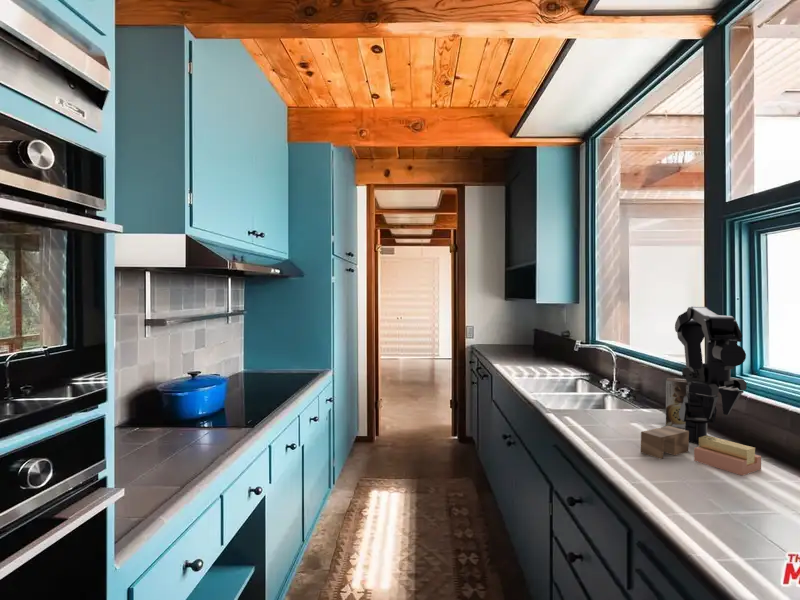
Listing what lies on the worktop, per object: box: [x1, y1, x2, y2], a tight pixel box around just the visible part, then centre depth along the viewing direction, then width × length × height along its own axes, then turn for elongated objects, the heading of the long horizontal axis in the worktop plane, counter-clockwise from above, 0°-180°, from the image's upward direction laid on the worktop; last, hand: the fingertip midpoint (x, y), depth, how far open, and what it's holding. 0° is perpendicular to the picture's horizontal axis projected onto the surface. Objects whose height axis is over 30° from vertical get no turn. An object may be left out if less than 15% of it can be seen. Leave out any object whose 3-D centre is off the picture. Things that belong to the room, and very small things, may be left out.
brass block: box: [698, 434, 756, 465], centre depth 128 cm, size 12×4×4 cm, turn 29°
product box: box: [664, 377, 688, 429], centre depth 165 cm, size 9×6×16 cm
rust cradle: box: [693, 446, 762, 476], centre depth 128 cm, size 9×12×4 cm
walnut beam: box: [640, 426, 690, 460], centre depth 138 cm, size 13×6×6 cm, turn 119°
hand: (716, 416), depth 132 cm, fingers open, 9 cm apart
